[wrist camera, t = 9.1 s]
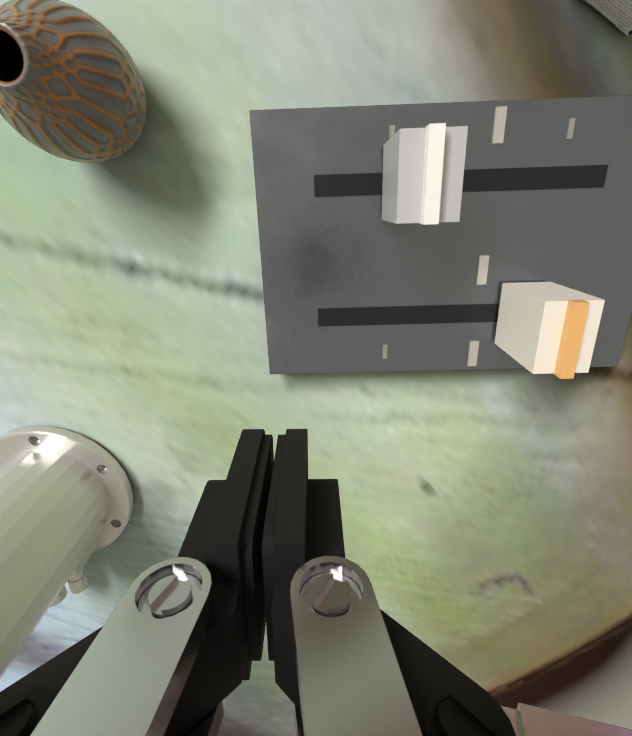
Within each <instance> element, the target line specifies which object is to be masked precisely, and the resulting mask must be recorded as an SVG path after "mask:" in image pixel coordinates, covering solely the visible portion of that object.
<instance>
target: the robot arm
mask: <svg viewBox="0 0 632 736" xmlns="http://www.w3.org/2000/svg"><path fill="white" fill-rule="evenodd" d="M132 510H133V492H132V488H131V484H130V482H129V480H128V478H127V476H126V473H125V472H124V470H123V469H122V468H121V466H120V465H119V463H118V462H117V461H116V460H115V459H114V458H113V457H112V456H111V455H110V454H109V453H108V452H107V451H106V450H105V449H103V448H102V447H100V446H99V445H98V444H96V443H95V442H93V441H91V440H90V439H88V438H86V437H84V436H82V435H80V434H77V433H74V432H71V431H68V430H65V429H60V428H55V427H45V426H33V427H27V428H21V429H18V430H15V431H12V432H10V433H8V434H6V435H5V436H3V437H1V438H0V679H1V677H2V676H3V674H4V673H5V671H6V670H7V668H8V667H9V665H10V664H11V662H12V661H13V659H14V658H15V657H16V655H17V654H18V652H19V651H20V649H21V648H22V646H23V645H24V643H25V642H26V640H27V639H28V637H29V636H30V635H31V633H32V632H33V630H34V629H35V627H36V626H37V624H38V623H39V621H40V620H41V618H42V617H43V615H44V614H45V612H46V611H47V610H48V608H49V607H51V606H54V605H57V604H58V603H60V602H61V601H62V600H63V599H64V598H65V597H66V594H67V591H66V588H65V583H66V582H67V581H68V584H69V587H70V590H71V592H72V593H74V594H76V593H80V592H82V591H84V590H85V589H86V588H87V586H88V580H87V577H86V574H85V572H84V570H83V567H84V565H85V564H86V562H87V560H88V559H89V557H90V556H91V554H92V553H93V552H94V551H97V550H100V549H102V548H104V547H106V546H108V545H110V544H111V543H112V542H113V541H114V540H116V539H117V538H118V537H119V536H120V534H121V533H122V531H123V530H124V529H125V527H126V525H127V523H128V521H129V520H130V518H131V514H132ZM265 625H267V641H268V656H269V661H274V664H275V682H276V683H277V685H278V686H279V687H280V688H281V689H282V690H283V692H284V693H285V694H286V695H287V696H288V697H289V698H290V700H291V701H292V702H293V703H294V714H295V724H296V735H297V736H632V730H631V729H627V728H623V727H618V726H614V725H610V724H605V723H602V722H597V721H593V720H589V719H585V718H581V717H576V716H572V715H568V714H563V713H560V712H555V711H551V710H547V709H543V708H539V707H534V706H530V705H526V704H522V703H518V707H517V710H516V709H512V708H507V707H503V706H500V704H499V703H498V702H497V701H496V700H495V699H494V698H493V697H492V696H491V695H490V694H489V693H488V692H487V691H486V690H484V689H483V688H482V687H480V686H479V685H478V684H477V683H475V682H474V681H473V680H471V679H470V678H469V677H467V676H466V675H465V674H464V673H462V672H461V671H460V670H458V669H457V668H456V667H455V666H453V665H452V664H451V663H449V662H448V661H447V660H445V659H444V658H443V657H442V656H440V655H439V654H438V653H436V652H435V651H434V650H432V649H431V648H430V647H429V646H427V645H426V644H425V643H423V642H422V641H421V640H420V639H418V638H417V637H416V636H414V635H413V634H412V633H410V632H409V631H408V630H407V629H405V628H404V627H403V626H401V625H400V624H399V623H398V622H396V621H395V620H394V619H392V618H391V617H390V616H388V615H387V614H386V613H385V612H383V611H382V610H381V609H380V608H379V605H378V602H377V599H376V596H375V593H374V590H373V588H372V585H371V582H370V580H369V578H368V576H367V574H366V572H365V571H364V570H363V569H362V568H361V567H359V566H358V565H357V564H356V563H354V562H352V561H350V560H348V559H346V558H345V551H344V540H343V529H342V519H341V508H340V498H339V487H338V480H337V479H308V434H307V429H287V430H286V435H278V440H277V446H276V453H275V459H274V454H273V437H272V435H265V431H264V429H243V430H242V433H241V436H240V439H239V442H238V445H237V448H236V451H235V454H234V457H233V460H232V463H231V466H230V470H229V473H228V476H227V479H226V480H209V481H208V482H207V484H206V486H205V489H204V491H203V494H202V496H201V499H200V501H199V504H198V506H197V509H196V511H195V514H194V517H193V519H192V522H191V524H190V527H189V529H188V532H187V534H186V537H185V539H184V542H183V545H182V547H181V550H180V552H179V555H178V557H175V558H171V559H167V560H163V561H161V562H159V563H156V564H154V565H152V566H150V567H149V568H148V569H146V570H145V571H144V572H142V573H141V574H140V575H139V576H138V577H137V578H136V579H135V581H134V582H133V583H132V584H131V585H130V587H129V588H128V590H127V591H126V593H125V594H124V596H123V597H122V599H121V600H120V602H119V603H118V605H117V606H116V608H115V609H114V611H113V612H112V614H111V615H110V617H109V618H108V620H107V621H106V623H105V624H104V626H103V627H101V628H99V629H98V630H96V631H95V632H93V633H92V634H90V635H89V636H87V637H85V638H84V639H82V640H81V641H79V642H78V643H76V644H75V645H73V646H71V647H70V648H68V649H67V650H65V651H64V652H62V653H60V654H59V655H57V656H56V657H54V658H53V659H51V660H50V661H48V662H46V663H45V664H43V665H42V666H40V667H39V668H37V669H35V670H34V671H32V672H31V673H29V674H28V675H26V676H25V677H23V678H21V679H20V680H18V681H17V682H15V683H14V684H12V685H11V686H9V687H7V688H6V689H4V690H3V691H1V692H0V736H217V735H218V732H219V728H220V725H221V722H222V719H223V716H224V711H225V705H226V697H227V696H228V695H229V694H230V693H231V692H232V691H233V690H234V689H235V688H236V687H237V686H239V685H240V684H241V683H242V680H249V678H250V671H251V663H252V661H261V658H262V651H263V642H264V633H265Z"/></svg>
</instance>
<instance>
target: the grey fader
mask: <svg viewBox="0 0 632 736" xmlns="http://www.w3.org/2000/svg"><path fill="white" fill-rule="evenodd" d="M467 132H468V126H456V127H446V123H434V124H429V125H427V126H426V128H403V129H399V130H398V131H397V132H396V133H395V134H394V135H393V136H392V137H391V138H390V139H389V140H388V141H387V142H386V143H385V144H384V145H383V183H382V220H384V221H388V222H392V223H396V224H402V223H420V224H423V225H427V224H439V222H459V220H460V209H461V198H462V187H463V176H464V165H465V154H466V143H467Z"/></svg>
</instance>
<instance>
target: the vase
mask: <svg viewBox="0 0 632 736" xmlns="http://www.w3.org/2000/svg"><path fill="white" fill-rule="evenodd" d="M146 110H147V104H146V95H145V90H144V86H143V82H142V79H141V76H140V74H139V71H138V69H137V67H136V65H135V63H134V62H133V60H132V58H131V56H130V55H129V53H128V52H127V50H126V49H125V47H124V46H123V45H122V44H121V43H120V41H119V40H118V39H117V38H116V37H115V36H114V35H113V34H112V33H111V32H110V31H109V30H108V29H107V28H106V27H105V26H104V25H102V24H101V23H100V22H99V21H97V20H96V19H95V18H93V17H92V16H91V15H89V14H88V13H86V12H84V11H83V10H81V9H79V8H77V7H75V6H72V5H70V4H68V3H65V2H62V1H58V0H11V1H8V2H6V3H5V4H3V5H1V6H0V114H1V115H2V116H3V117H4V119H5V120H6V121H7V122H8V123H9V124H10V125H11V126H12V127H13V128H14V129H15V130H16V131H17V132H18V133H19V134H21V135H22V136H23V137H24V138H26V139H27V140H28V141H30V142H31V143H33V144H34V145H36V146H37V147H39V148H41V149H42V150H44V151H46V152H48V153H50V154H52V155H55V156H57V157H60V158H63V159H67V160H71V161H77V162H85V163H97V162H104V161H108V160H111V159H114V158H116V157H119V156H120V155H122V154H124V153H125V152H126V151H128V150H129V149H130V148H131V147H132V146H133V145H134V144H135V143H136V141H137V140H138V138H139V136H140V134H141V132H142V130H143V127H144V124H145V119H146Z"/></svg>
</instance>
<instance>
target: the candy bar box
mask: <svg viewBox="0 0 632 736" xmlns="http://www.w3.org/2000/svg"><path fill="white" fill-rule="evenodd" d="M581 1H583V2H584V3H586V4H588V5H589V6H591V7H592V8H594V9H595V10H596V11H597V12H599V13H600V14H601V15H602V16H603V17H604V18H605V19H606V20H608V21H609V22H610V23H611V24H612V25H613V26H615V27H616V28H617V29H619V30H620V31H621V32H623V33H624V34H625V35H626V36H630V35H632V0H581Z"/></svg>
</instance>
